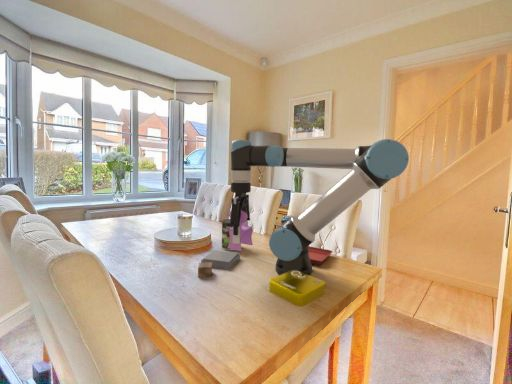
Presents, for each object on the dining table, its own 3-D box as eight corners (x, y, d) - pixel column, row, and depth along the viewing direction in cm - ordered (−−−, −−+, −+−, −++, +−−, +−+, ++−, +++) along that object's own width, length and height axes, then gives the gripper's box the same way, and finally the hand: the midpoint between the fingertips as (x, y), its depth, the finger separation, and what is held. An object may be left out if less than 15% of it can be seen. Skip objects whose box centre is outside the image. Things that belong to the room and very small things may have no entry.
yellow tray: (266, 291, 94) (267, 278, 94) (293, 279, 104) (293, 267, 104) (301, 309, 83) (301, 294, 83) (327, 293, 94) (328, 280, 93)
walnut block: (211, 271, 109) (212, 262, 108) (211, 277, 104) (211, 267, 103) (199, 272, 108) (199, 262, 108) (198, 277, 103) (198, 267, 103)
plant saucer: (298, 250, 140) (298, 243, 140) (332, 256, 131) (333, 250, 131) (283, 260, 125) (283, 253, 124) (321, 268, 116) (321, 261, 115)
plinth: (239, 258, 124) (239, 252, 123) (229, 269, 111) (229, 262, 111) (213, 255, 127) (213, 249, 127) (201, 265, 115) (201, 258, 114)
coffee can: (237, 251, 134) (238, 223, 132) (218, 249, 136) (218, 222, 135) (243, 245, 144) (244, 219, 142) (225, 243, 146) (225, 218, 145)
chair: (255, 245, 106) (255, 207, 104) (243, 251, 98) (243, 211, 96) (237, 242, 110) (237, 205, 108) (225, 247, 102) (224, 208, 100)
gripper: (240, 180, 113) (240, 232, 115) (220, 183, 92) (220, 247, 94) (257, 180, 111) (257, 233, 113) (241, 184, 90) (240, 249, 92)
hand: (240, 239), depth 104 cm, fingers closed on chair, 9 cm apart
